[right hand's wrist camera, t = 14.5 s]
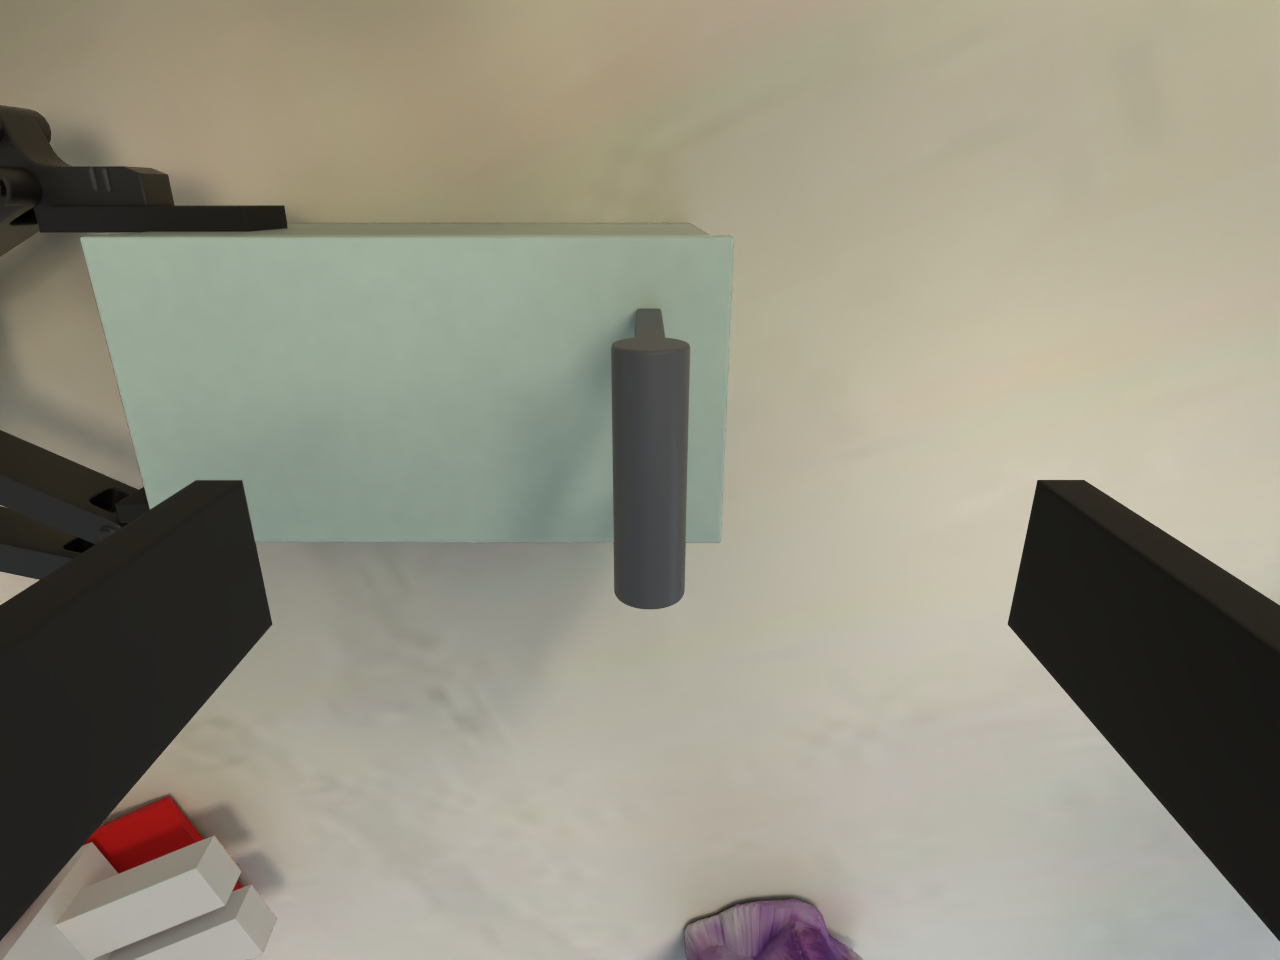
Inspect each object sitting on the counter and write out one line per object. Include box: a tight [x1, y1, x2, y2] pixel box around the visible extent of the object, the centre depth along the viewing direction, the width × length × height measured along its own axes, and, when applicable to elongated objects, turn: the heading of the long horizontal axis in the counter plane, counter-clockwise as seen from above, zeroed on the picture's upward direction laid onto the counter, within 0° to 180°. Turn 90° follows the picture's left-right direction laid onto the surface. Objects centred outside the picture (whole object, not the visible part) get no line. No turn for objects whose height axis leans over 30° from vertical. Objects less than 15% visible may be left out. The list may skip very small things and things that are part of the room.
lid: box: [80, 235, 734, 609], centre depth 19 cm, size 18×9×8 cm, turn 90°
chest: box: [110, 223, 709, 235], centre depth 27 cm, size 17×9×10 cm, turn 90°
